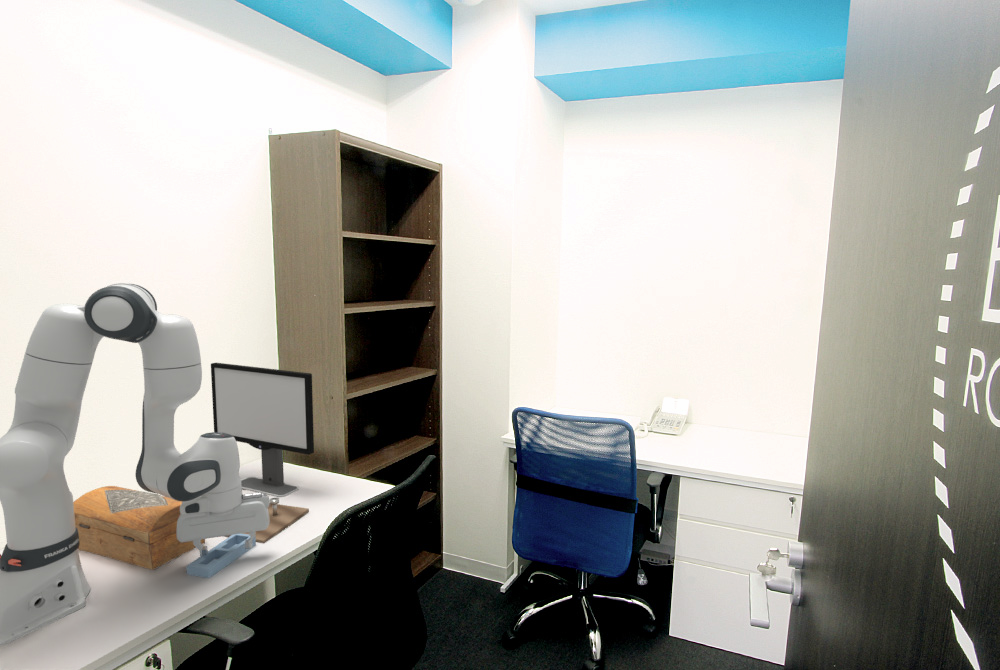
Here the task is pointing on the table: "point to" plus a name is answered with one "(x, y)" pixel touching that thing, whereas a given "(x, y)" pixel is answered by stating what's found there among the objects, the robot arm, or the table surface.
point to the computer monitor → (264, 417)
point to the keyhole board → (279, 521)
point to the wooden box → (130, 526)
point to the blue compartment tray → (220, 556)
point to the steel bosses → (274, 505)
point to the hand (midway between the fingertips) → (226, 551)
